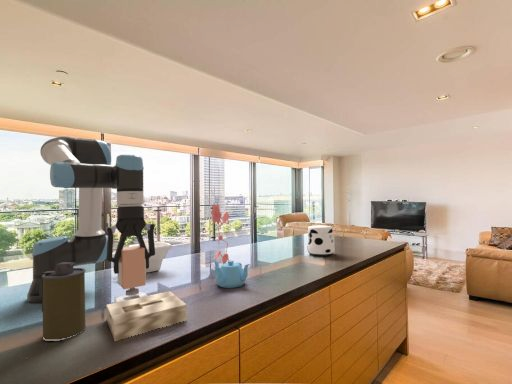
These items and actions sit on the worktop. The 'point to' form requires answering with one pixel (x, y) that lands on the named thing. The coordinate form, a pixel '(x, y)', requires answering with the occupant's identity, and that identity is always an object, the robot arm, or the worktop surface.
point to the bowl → (156, 255)
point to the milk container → (320, 240)
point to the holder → (130, 297)
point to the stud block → (133, 269)
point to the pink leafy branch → (215, 219)
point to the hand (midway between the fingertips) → (132, 281)
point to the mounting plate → (144, 314)
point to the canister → (63, 301)
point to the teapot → (230, 274)
